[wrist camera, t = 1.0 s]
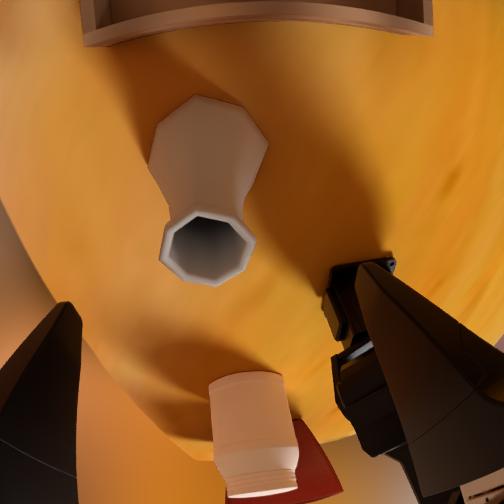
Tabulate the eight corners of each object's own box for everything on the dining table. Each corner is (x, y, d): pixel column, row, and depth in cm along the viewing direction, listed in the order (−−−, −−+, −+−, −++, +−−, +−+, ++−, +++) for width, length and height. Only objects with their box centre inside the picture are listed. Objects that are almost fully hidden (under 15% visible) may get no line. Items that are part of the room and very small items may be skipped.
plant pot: (215, 421, 44) (225, 512, 31) (323, 408, 47) (345, 491, 34) (219, 447, 56) (227, 513, 43) (302, 437, 59) (316, 501, 46)
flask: (130, 170, 18) (77, 276, 10) (191, 73, 15) (168, 97, 7) (221, 220, 21) (232, 339, 13) (288, 139, 18) (353, 226, 10)
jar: (204, 375, 34) (214, 494, 22) (283, 365, 34) (309, 481, 23) (218, 409, 41) (227, 500, 29) (280, 401, 42) (298, 490, 30)
